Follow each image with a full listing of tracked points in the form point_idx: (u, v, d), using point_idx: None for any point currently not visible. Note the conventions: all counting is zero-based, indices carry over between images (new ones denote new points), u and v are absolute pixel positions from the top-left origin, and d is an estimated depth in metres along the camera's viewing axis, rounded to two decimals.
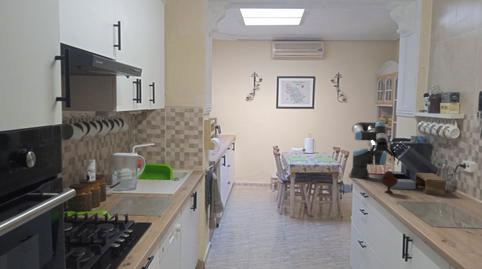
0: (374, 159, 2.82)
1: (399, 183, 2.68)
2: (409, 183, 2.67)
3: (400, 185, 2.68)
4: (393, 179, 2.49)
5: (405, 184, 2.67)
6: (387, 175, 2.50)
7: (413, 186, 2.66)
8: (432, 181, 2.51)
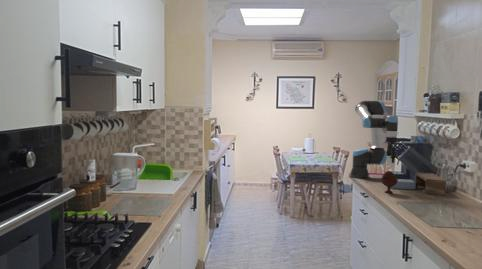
0: (394, 163, 2.66)
1: (399, 183, 2.68)
2: (409, 183, 2.67)
3: (400, 185, 2.68)
4: (393, 179, 2.49)
5: (405, 184, 2.67)
6: (387, 175, 2.50)
7: (413, 186, 2.66)
8: (432, 181, 2.51)
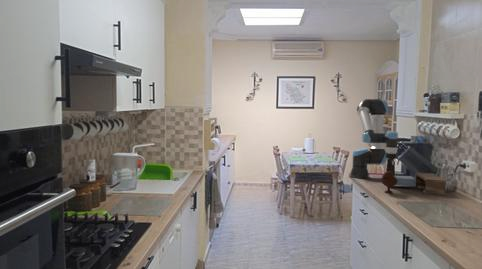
0: None
1: (399, 180, 2.68)
2: (409, 180, 2.67)
3: (400, 182, 2.68)
4: (393, 179, 2.49)
5: (405, 181, 2.67)
6: (387, 175, 2.50)
7: (413, 183, 2.67)
8: (432, 181, 2.51)
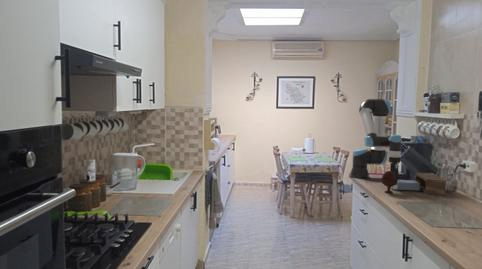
0: None
1: (403, 184, 2.62)
2: (413, 184, 2.61)
3: (404, 186, 2.62)
4: (393, 179, 2.49)
5: (409, 185, 2.61)
6: (387, 175, 2.50)
7: (417, 187, 2.60)
8: (432, 181, 2.51)
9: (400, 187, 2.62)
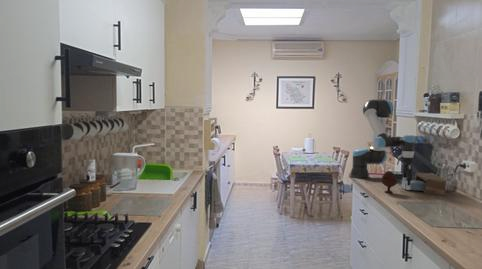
0: None
1: (416, 185, 2.60)
2: None
3: (418, 187, 2.60)
4: (393, 179, 2.49)
5: (422, 186, 2.59)
6: (387, 175, 2.50)
7: None
8: (432, 181, 2.51)
9: (413, 188, 2.60)
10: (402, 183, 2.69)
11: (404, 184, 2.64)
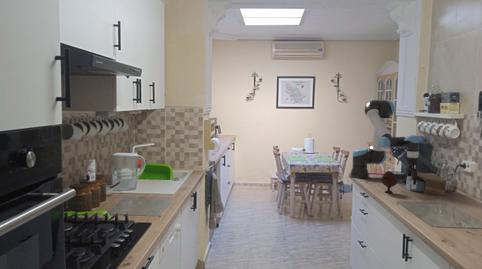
0: None
1: (421, 186, 2.60)
2: None
3: (422, 188, 2.60)
4: (393, 179, 2.49)
5: None
6: (387, 175, 2.50)
7: None
8: (432, 181, 2.51)
9: (418, 189, 2.60)
10: (407, 184, 2.69)
11: (409, 185, 2.63)
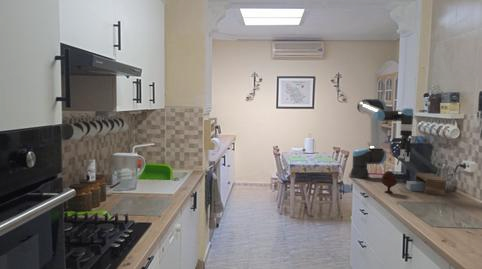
0: None
1: (421, 186, 2.60)
2: None
3: (422, 188, 2.60)
4: (393, 179, 2.49)
5: None
6: (387, 175, 2.50)
7: None
8: (432, 181, 2.51)
9: (418, 189, 2.60)
10: (407, 184, 2.69)
11: (409, 185, 2.63)
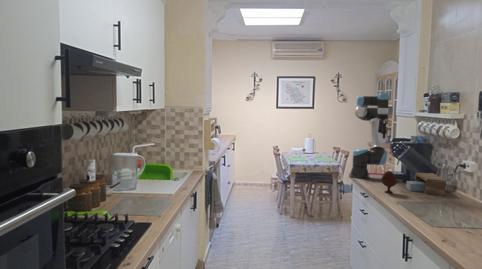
0: (385, 138, 2.76)
1: (421, 186, 2.60)
2: None
3: (422, 188, 2.60)
4: (393, 179, 2.49)
5: None
6: (387, 175, 2.50)
7: None
8: (432, 181, 2.51)
9: (418, 189, 2.60)
10: (407, 184, 2.69)
11: (409, 185, 2.63)
